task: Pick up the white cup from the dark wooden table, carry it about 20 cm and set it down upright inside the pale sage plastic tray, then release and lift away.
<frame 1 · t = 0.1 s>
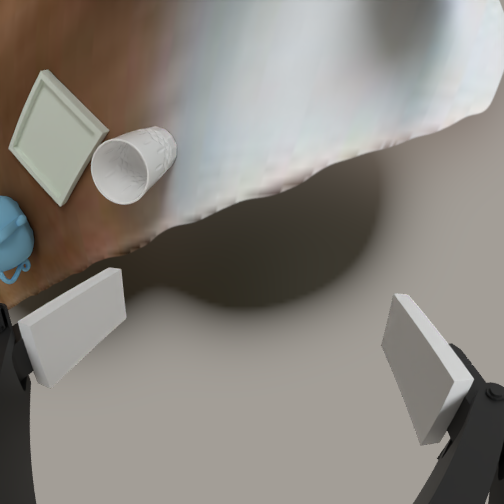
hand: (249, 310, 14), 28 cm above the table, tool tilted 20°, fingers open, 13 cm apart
decorative pot: (17, 222, 51), on the table
white cup: (155, 148, 39), on the table
tray: (54, 137, 39), on the table
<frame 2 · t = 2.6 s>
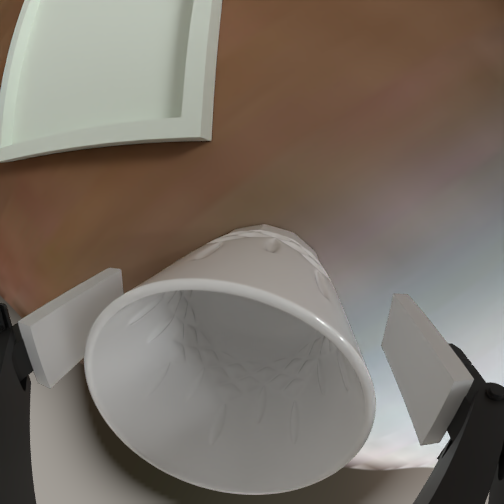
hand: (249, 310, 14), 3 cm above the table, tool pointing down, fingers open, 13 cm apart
white cup: (262, 284, 16), on the table
tray: (98, 29, 14), on the table
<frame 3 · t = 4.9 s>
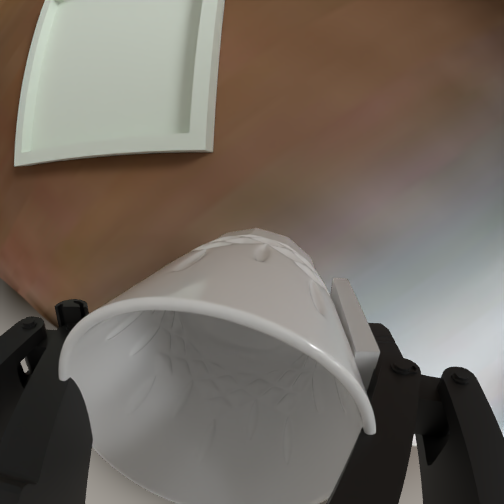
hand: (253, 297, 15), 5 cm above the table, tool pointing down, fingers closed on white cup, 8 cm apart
white cup: (255, 291, 16), point 4 cm above the table, touching gripper
tray: (111, 50, 17), on the table
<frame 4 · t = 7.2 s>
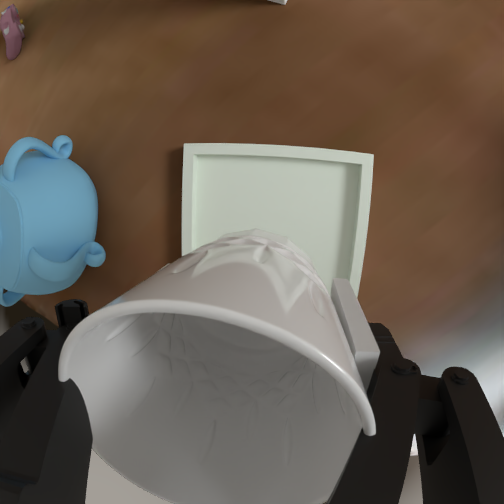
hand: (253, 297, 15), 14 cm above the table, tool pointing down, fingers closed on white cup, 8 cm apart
decorative pot: (64, 215, 32), on the table
white cup: (255, 292, 15), point 14 cm above the table, touching gripper
tray: (273, 236, 29), on the table
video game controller: (21, 33, 26), on the table
when the fingers open (2 cm above the table, at t = 9.6 s): white cup stays where it is, resting on tray.
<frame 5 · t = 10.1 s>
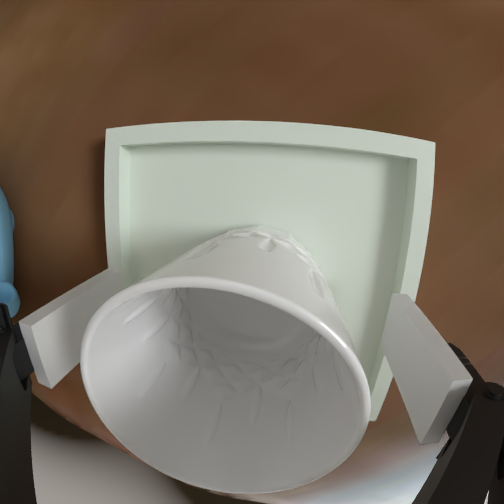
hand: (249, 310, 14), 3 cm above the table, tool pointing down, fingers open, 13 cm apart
white cup: (258, 285, 16), resting on tray
tray: (258, 283, 17), on the table
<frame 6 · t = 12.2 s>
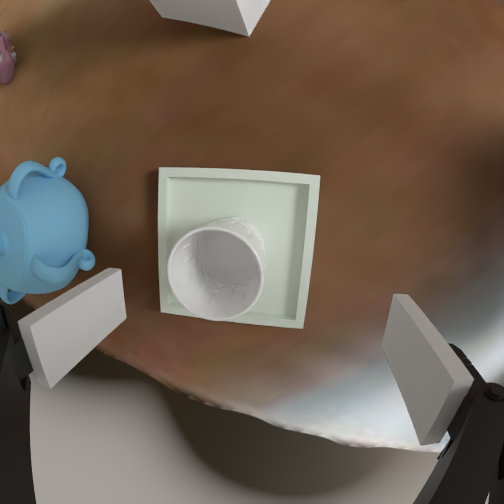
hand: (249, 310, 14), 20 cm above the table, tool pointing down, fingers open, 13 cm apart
decorative pot: (60, 224, 36), on the table
white cup: (234, 246, 33), resting on tray
tray: (234, 246, 34), on the table
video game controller: (14, 58, 30), on the table
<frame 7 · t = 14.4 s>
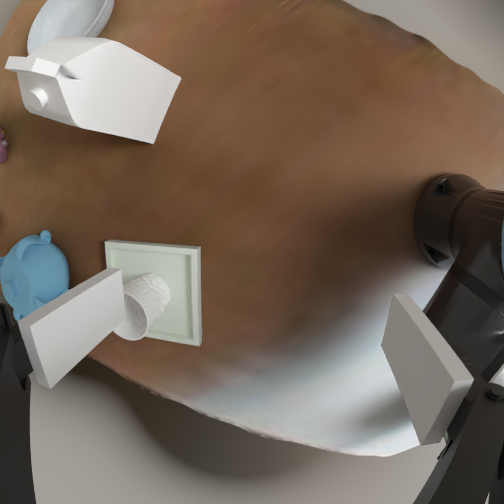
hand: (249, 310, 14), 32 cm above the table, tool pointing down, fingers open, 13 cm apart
decorative pot: (52, 269, 53), on the table
white cup: (153, 291, 50), resting on tray
serving bowl: (83, 25, 39), on the table
tray: (154, 290, 50), on the table
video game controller: (5, 140, 48), on the table
milk: (137, 102, 42), on the table
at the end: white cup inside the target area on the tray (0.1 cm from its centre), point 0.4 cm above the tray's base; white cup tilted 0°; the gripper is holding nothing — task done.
